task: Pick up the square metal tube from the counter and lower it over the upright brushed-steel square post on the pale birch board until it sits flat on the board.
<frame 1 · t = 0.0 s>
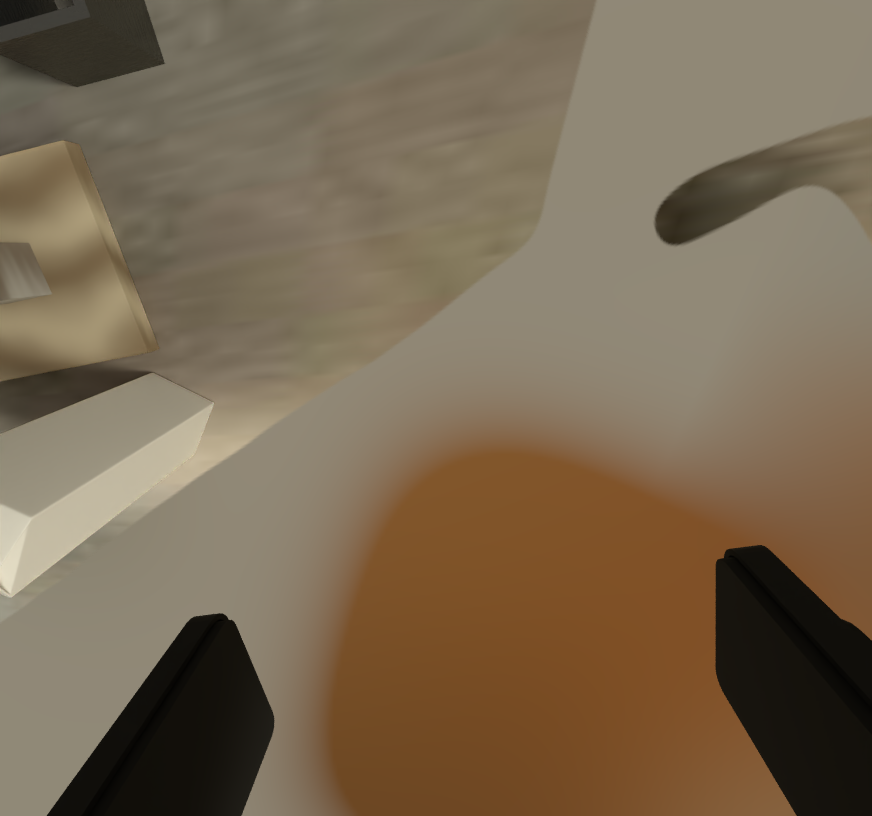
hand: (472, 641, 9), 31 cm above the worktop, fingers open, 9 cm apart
square metal tube: (99, 17, 32), on the worktop
post board: (35, 272, 38), on the worktop
milk: (175, 413, 42), on the worktop
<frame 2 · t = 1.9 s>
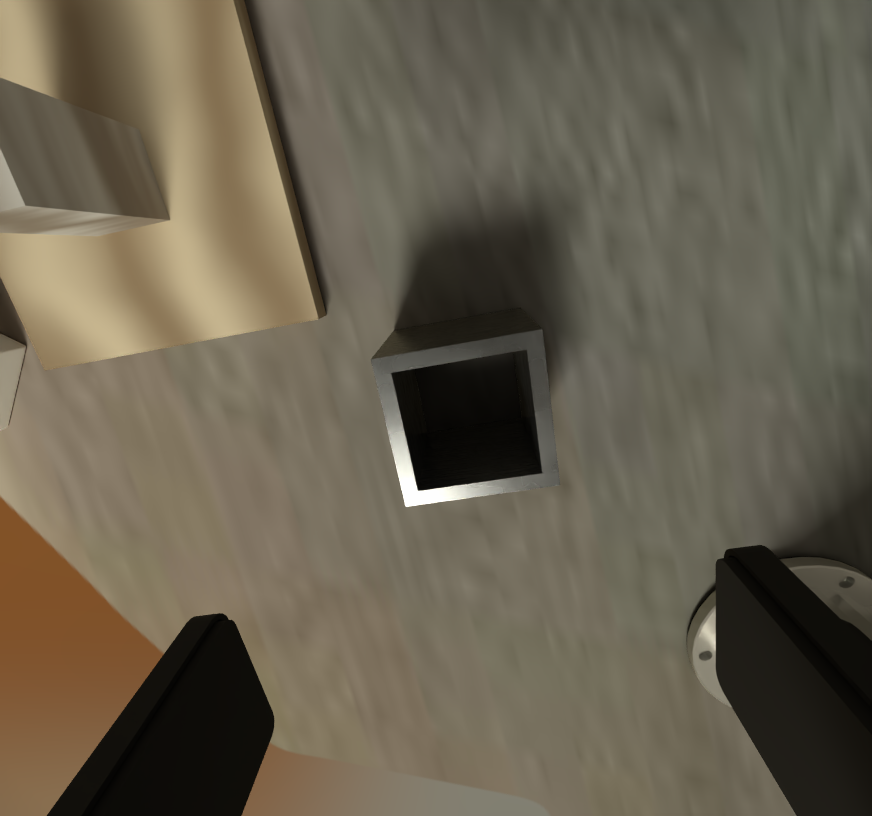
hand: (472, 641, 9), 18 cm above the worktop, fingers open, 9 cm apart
square metal tube: (466, 380, 26), on the worktop
post board: (137, 188, 24), on the worktop
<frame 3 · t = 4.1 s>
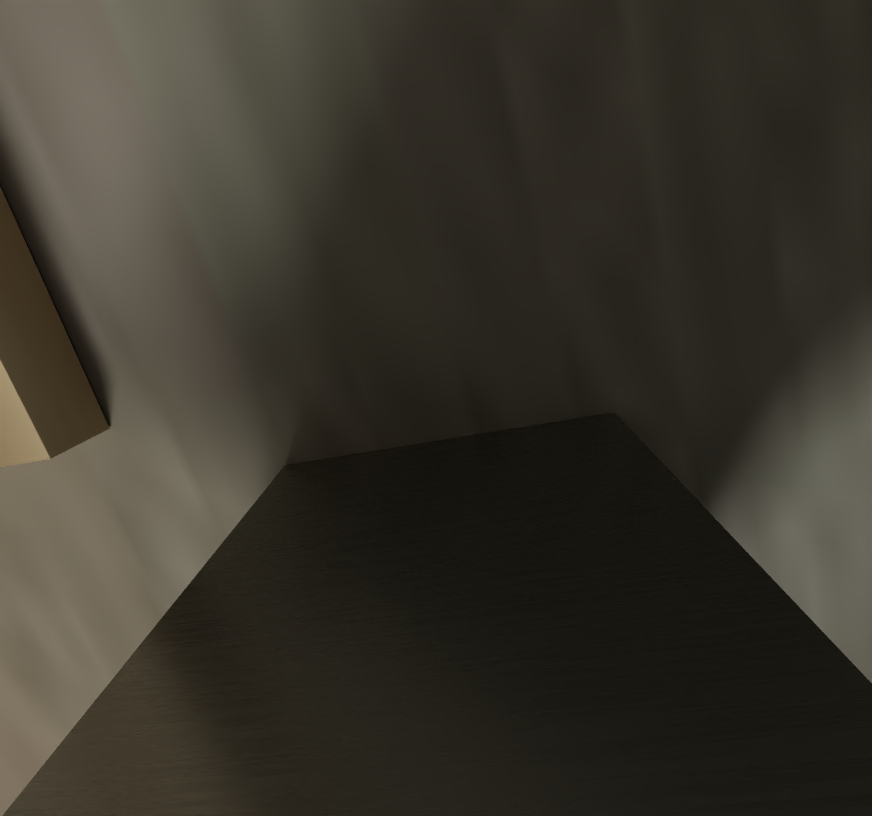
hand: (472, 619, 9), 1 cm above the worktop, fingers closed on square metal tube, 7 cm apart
square metal tube: (471, 577, 11), on the worktop, touching gripper
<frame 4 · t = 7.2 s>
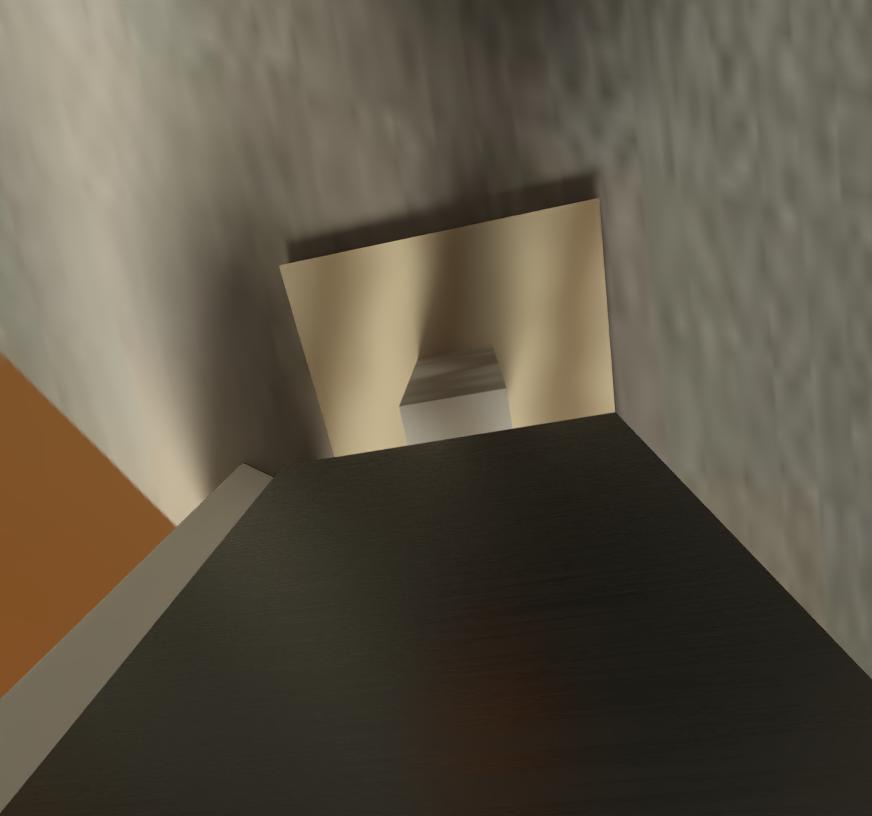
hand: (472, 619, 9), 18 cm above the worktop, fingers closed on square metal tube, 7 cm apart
square metal tube: (470, 577, 11), point 17 cm above the worktop, touching gripper
post board: (461, 379, 26), on the worktop
milk: (270, 515, 30), on the worktop
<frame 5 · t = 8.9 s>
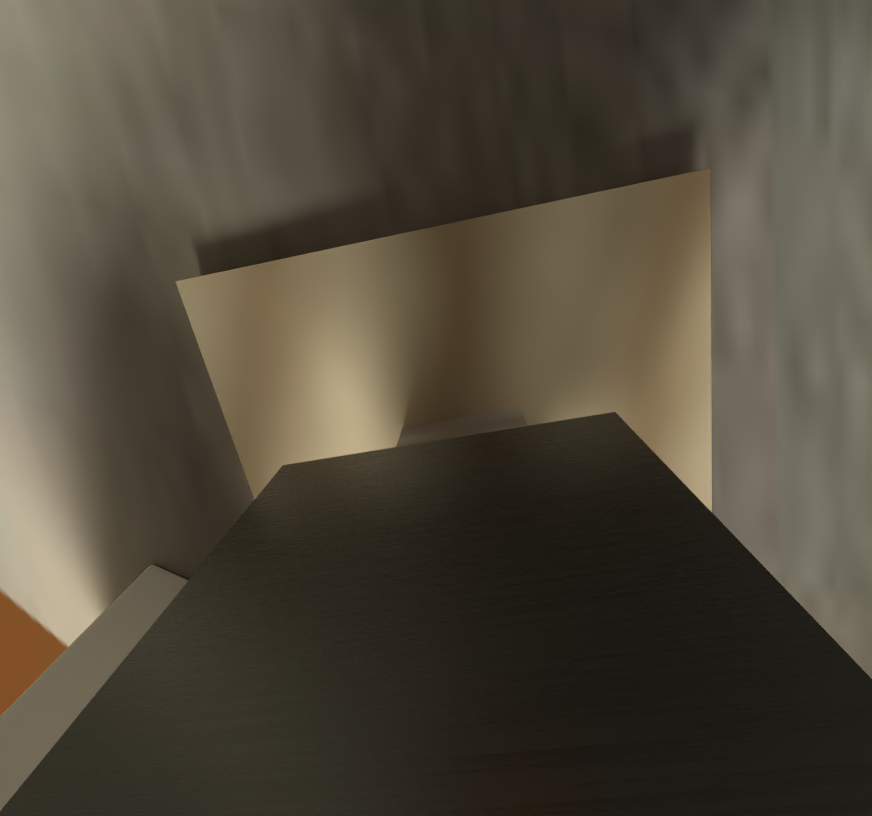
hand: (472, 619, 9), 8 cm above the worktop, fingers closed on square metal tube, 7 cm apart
square metal tube: (470, 577, 11), point 7 cm above the worktop, touching gripper
post board: (470, 452, 17), on the worktop
milk: (197, 632, 21), on the worktop
when the fingers open (4 cm above the worktop, at t = 10.4 s): square metal tube stays where it is, resting on post board.
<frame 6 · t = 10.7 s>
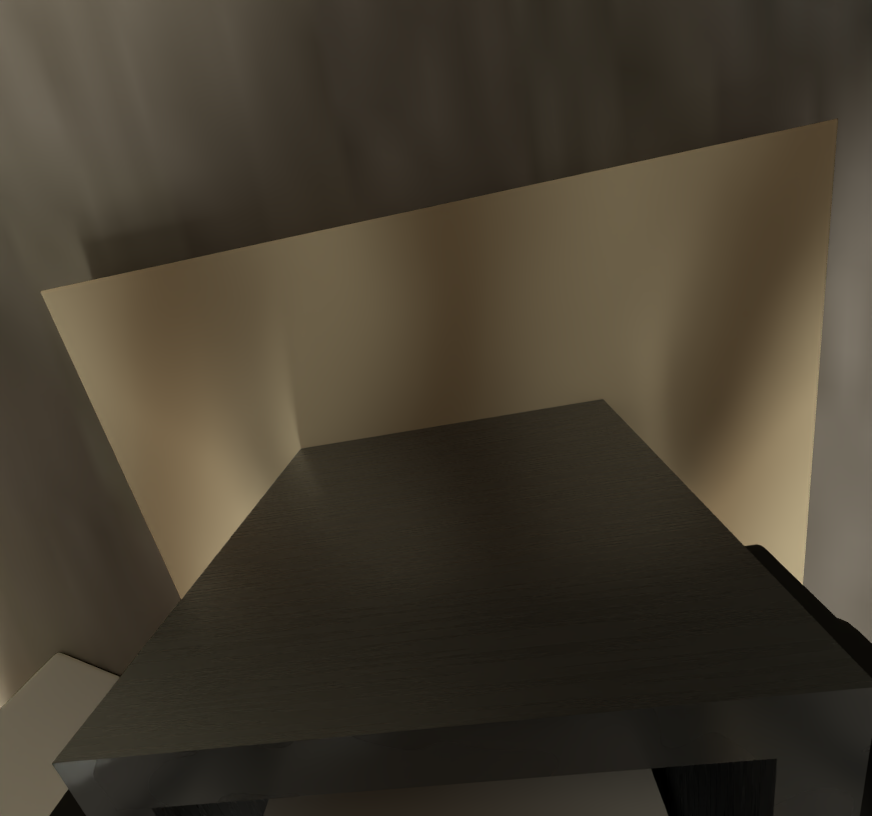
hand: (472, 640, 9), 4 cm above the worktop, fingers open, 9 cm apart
square metal tube: (471, 552, 12), point 1 cm above the worktop, touching post board
post board: (468, 518, 13), on the worktop
milk: (124, 730, 17), on the worktop
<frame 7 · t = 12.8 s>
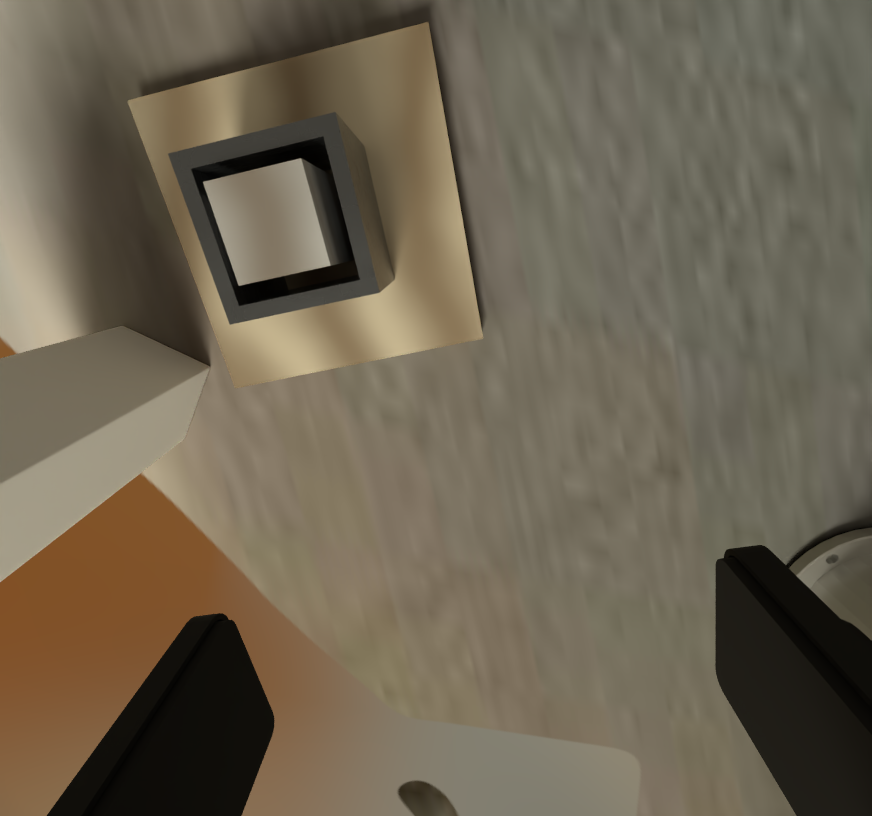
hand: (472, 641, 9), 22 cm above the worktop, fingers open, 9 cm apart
square metal tube: (320, 229, 26), point 1 cm above the worktop, touching post board
post board: (325, 229, 27), on the worktop
milk: (157, 383, 31), on the worktop
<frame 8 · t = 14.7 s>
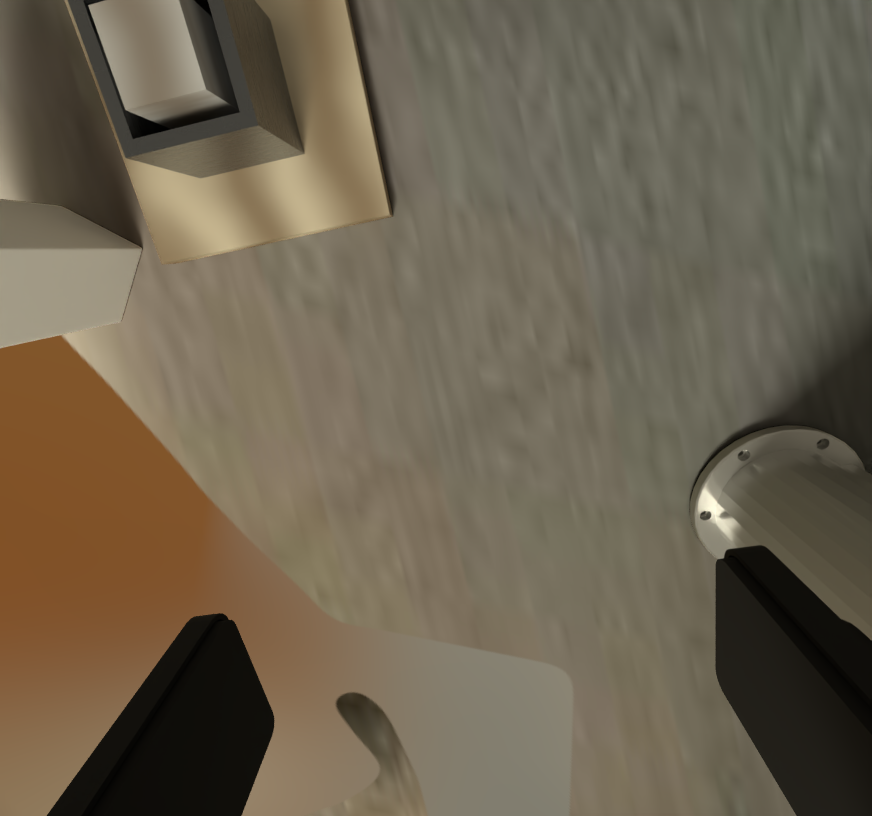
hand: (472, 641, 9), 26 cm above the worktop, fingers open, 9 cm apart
square metal tube: (233, 103, 28), point 1 cm above the worktop, touching post board
post board: (243, 109, 29), on the worktop
milk: (95, 265, 33), on the worktop
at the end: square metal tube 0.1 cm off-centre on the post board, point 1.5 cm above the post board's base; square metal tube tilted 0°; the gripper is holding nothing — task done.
